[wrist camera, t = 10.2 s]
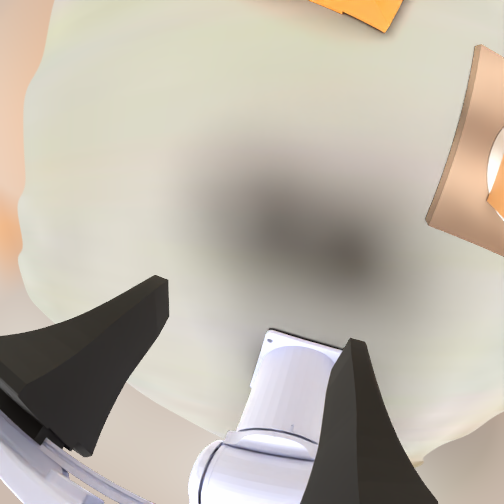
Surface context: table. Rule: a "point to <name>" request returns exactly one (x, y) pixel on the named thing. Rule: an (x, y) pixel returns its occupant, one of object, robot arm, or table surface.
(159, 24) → the table surface
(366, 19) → the bracket
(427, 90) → the table surface
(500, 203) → the collar
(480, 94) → the post base
